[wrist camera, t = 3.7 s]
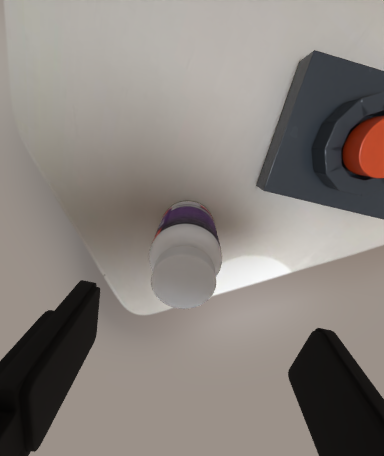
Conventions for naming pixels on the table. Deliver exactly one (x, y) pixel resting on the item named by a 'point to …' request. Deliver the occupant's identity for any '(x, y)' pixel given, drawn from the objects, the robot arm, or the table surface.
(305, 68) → the dark grey flat piece
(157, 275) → the pill bottle
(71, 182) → the table surface
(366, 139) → the button
